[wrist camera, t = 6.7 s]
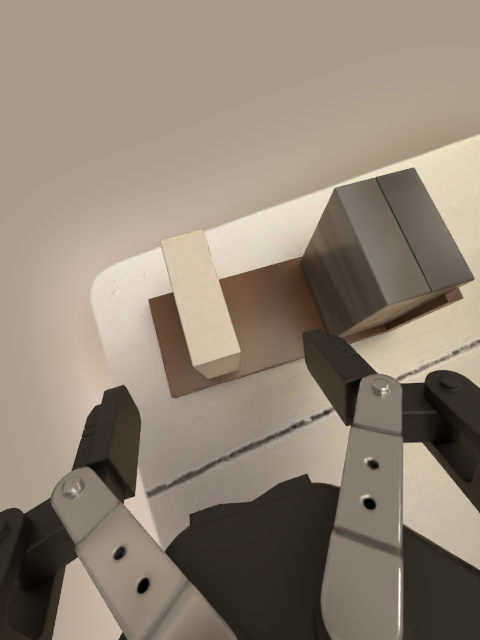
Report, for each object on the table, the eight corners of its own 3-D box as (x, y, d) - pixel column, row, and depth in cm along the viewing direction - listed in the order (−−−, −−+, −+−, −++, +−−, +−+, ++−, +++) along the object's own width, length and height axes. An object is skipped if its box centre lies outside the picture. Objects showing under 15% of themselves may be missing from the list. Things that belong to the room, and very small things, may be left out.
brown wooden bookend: (174, 397, 23) (129, 395, 13) (151, 302, 25) (97, 239, 15) (392, 330, 25) (497, 283, 15) (355, 246, 27) (425, 155, 17)
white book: (208, 379, 22) (192, 366, 14) (184, 294, 24) (159, 240, 16) (238, 370, 23) (241, 352, 14) (213, 286, 24) (202, 228, 16)
